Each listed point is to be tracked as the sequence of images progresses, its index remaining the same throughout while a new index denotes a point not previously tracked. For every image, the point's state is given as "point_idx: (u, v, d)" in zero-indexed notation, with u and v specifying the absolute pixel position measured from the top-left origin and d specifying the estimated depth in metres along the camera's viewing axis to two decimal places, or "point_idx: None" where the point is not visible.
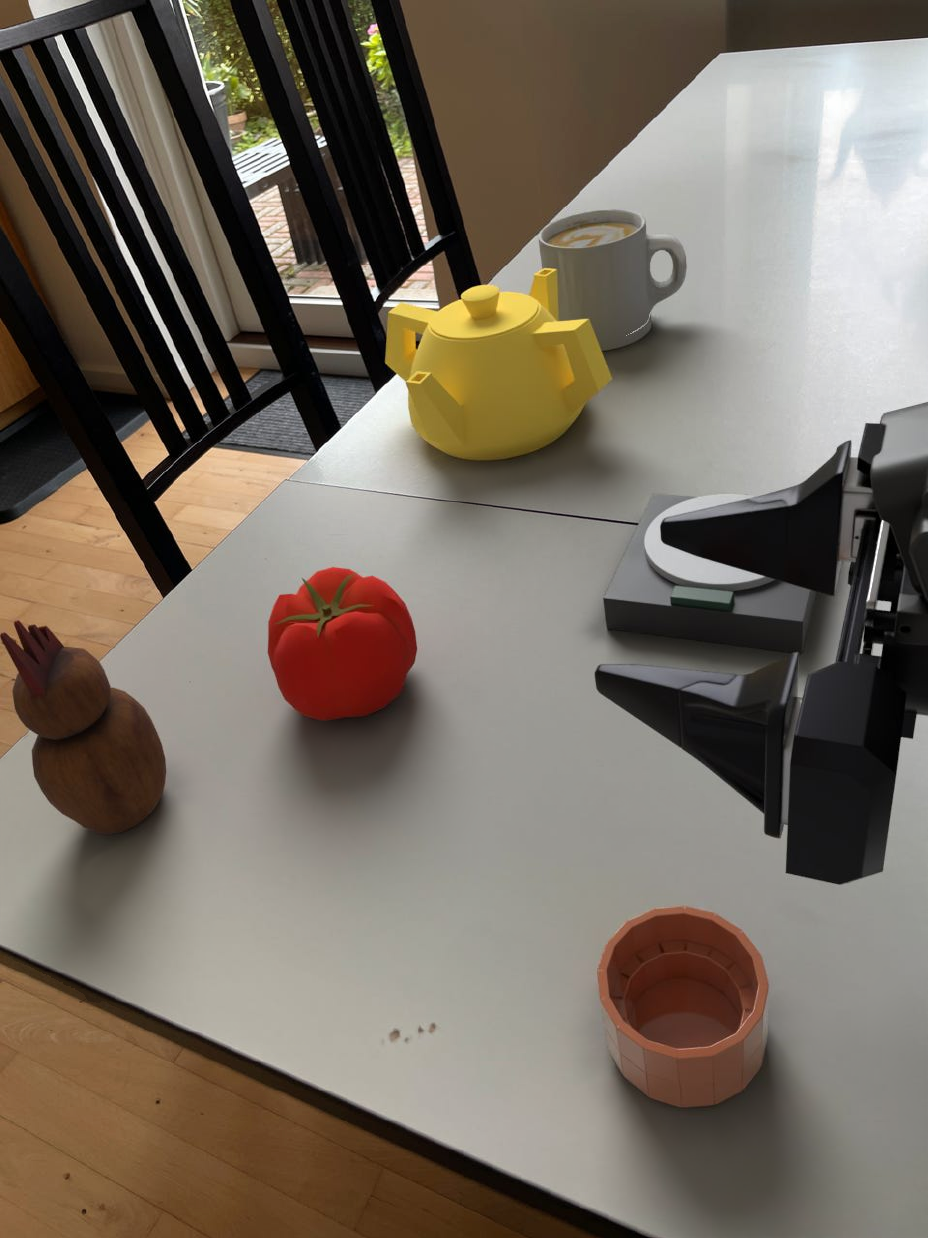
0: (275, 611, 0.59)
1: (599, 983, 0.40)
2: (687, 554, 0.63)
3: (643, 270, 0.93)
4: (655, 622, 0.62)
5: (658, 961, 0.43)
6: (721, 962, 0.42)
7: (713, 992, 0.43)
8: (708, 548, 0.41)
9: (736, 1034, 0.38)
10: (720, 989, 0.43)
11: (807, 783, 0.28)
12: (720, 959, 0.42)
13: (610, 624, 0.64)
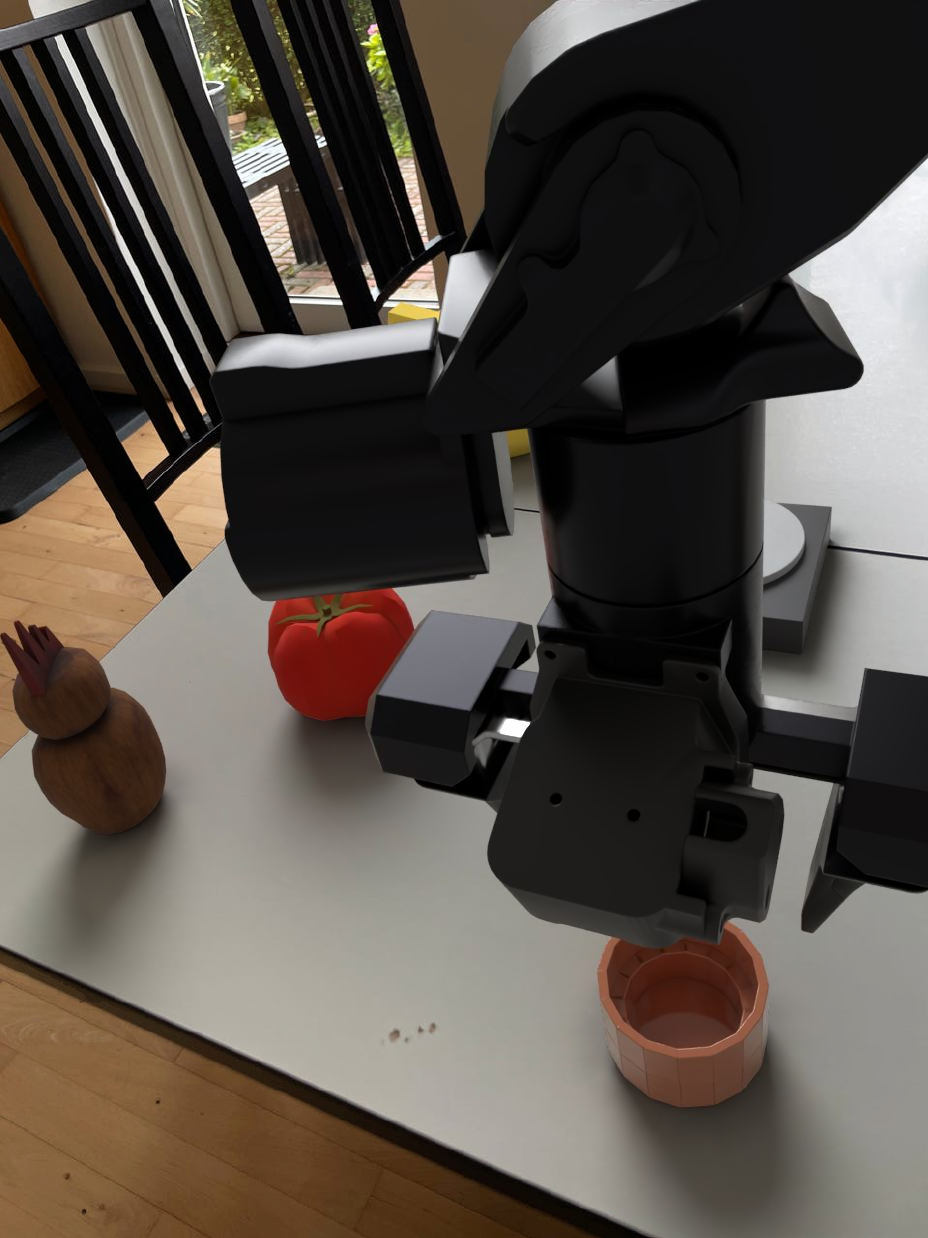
0: (275, 611, 0.59)
1: (599, 983, 0.40)
2: None
3: None
4: None
5: (658, 961, 0.43)
6: (721, 962, 0.42)
7: (713, 992, 0.43)
8: None
9: (736, 1034, 0.38)
10: (720, 989, 0.43)
11: None
12: (720, 959, 0.42)
13: None
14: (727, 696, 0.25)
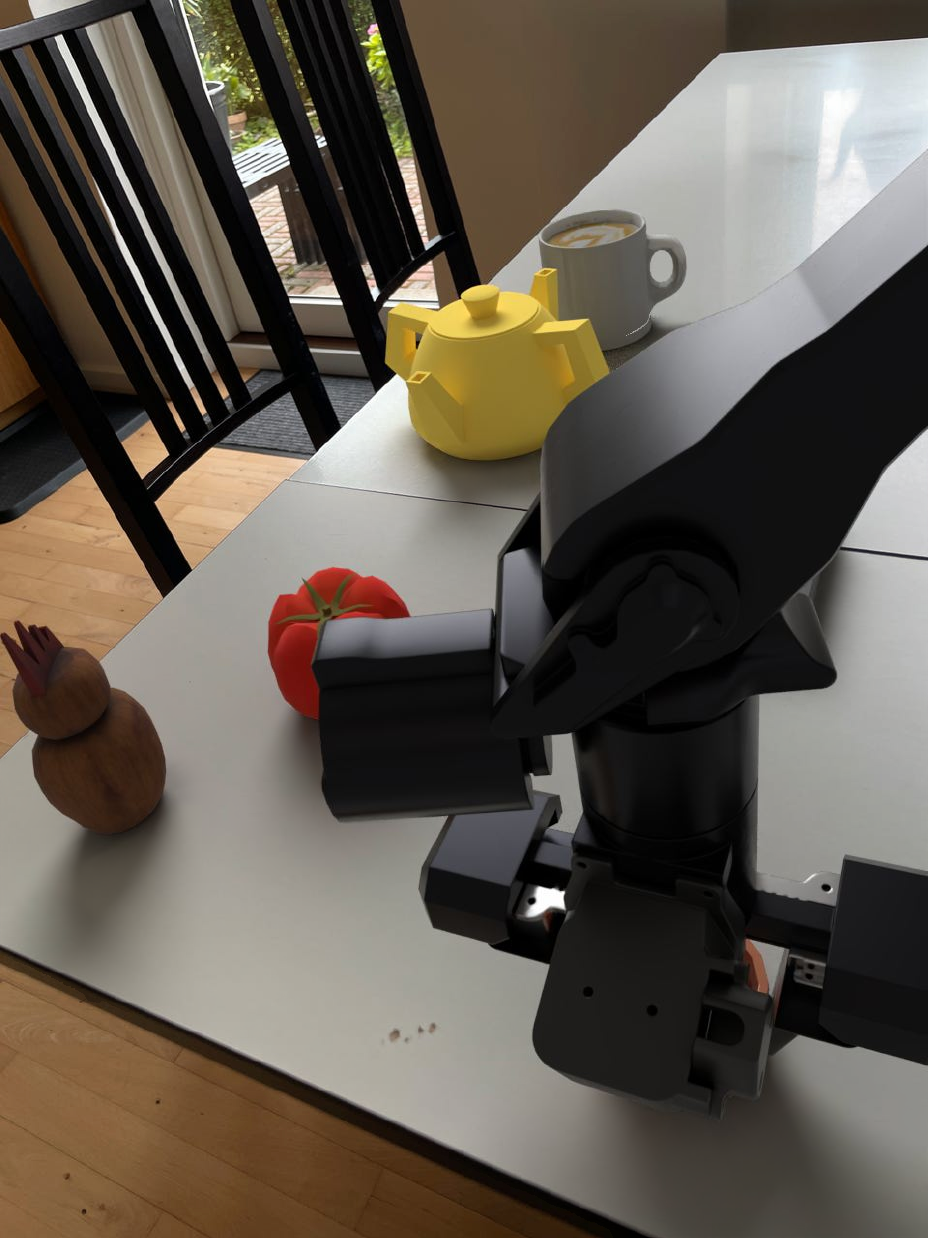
0: (275, 611, 0.59)
1: None
2: None
3: (643, 270, 0.93)
4: None
5: None
6: None
7: None
8: None
9: None
10: None
11: None
12: None
13: None
14: (728, 906, 0.31)
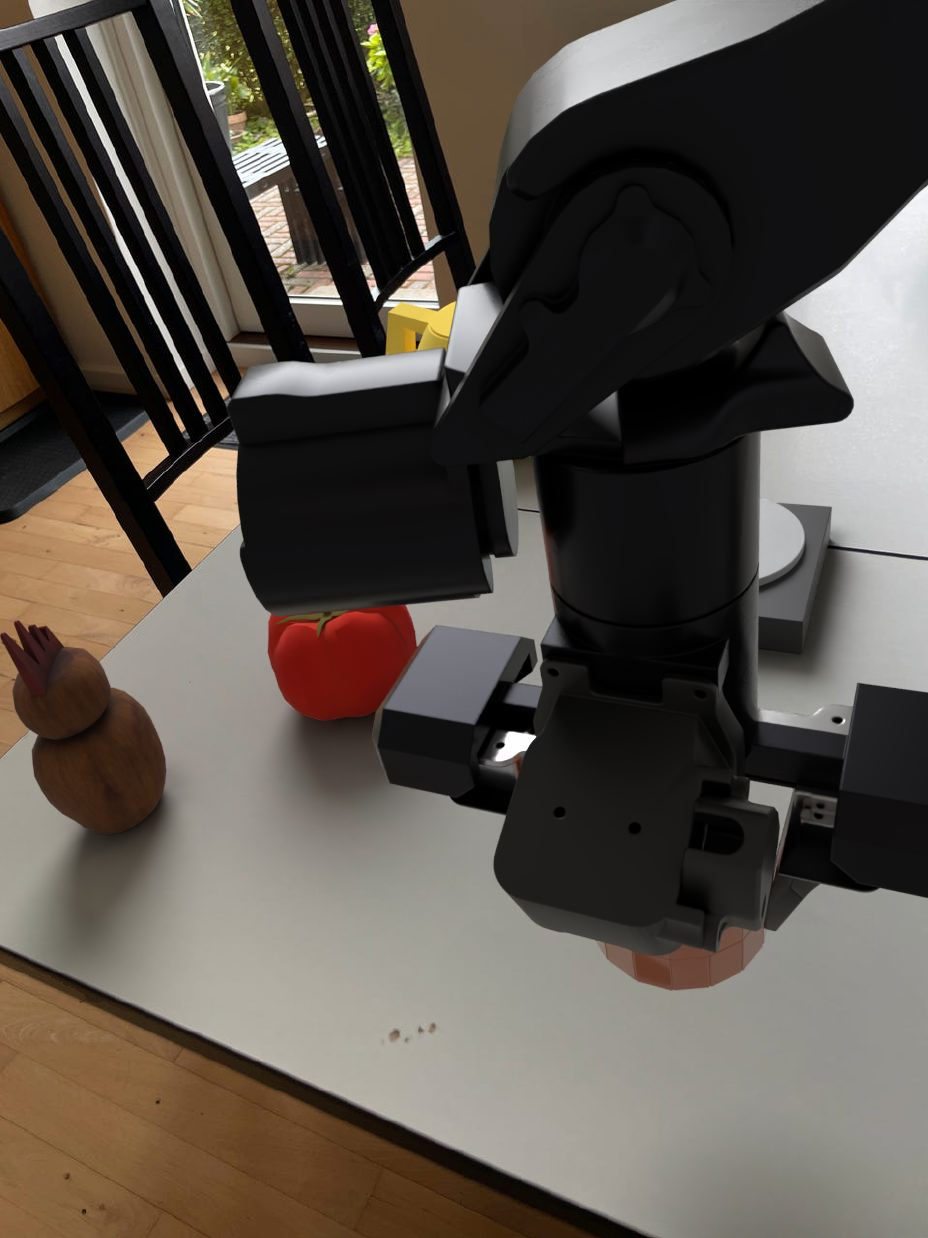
0: None
1: None
2: None
3: None
4: None
5: None
6: None
7: None
8: None
9: None
10: None
11: None
12: None
13: None
14: (724, 713, 0.26)
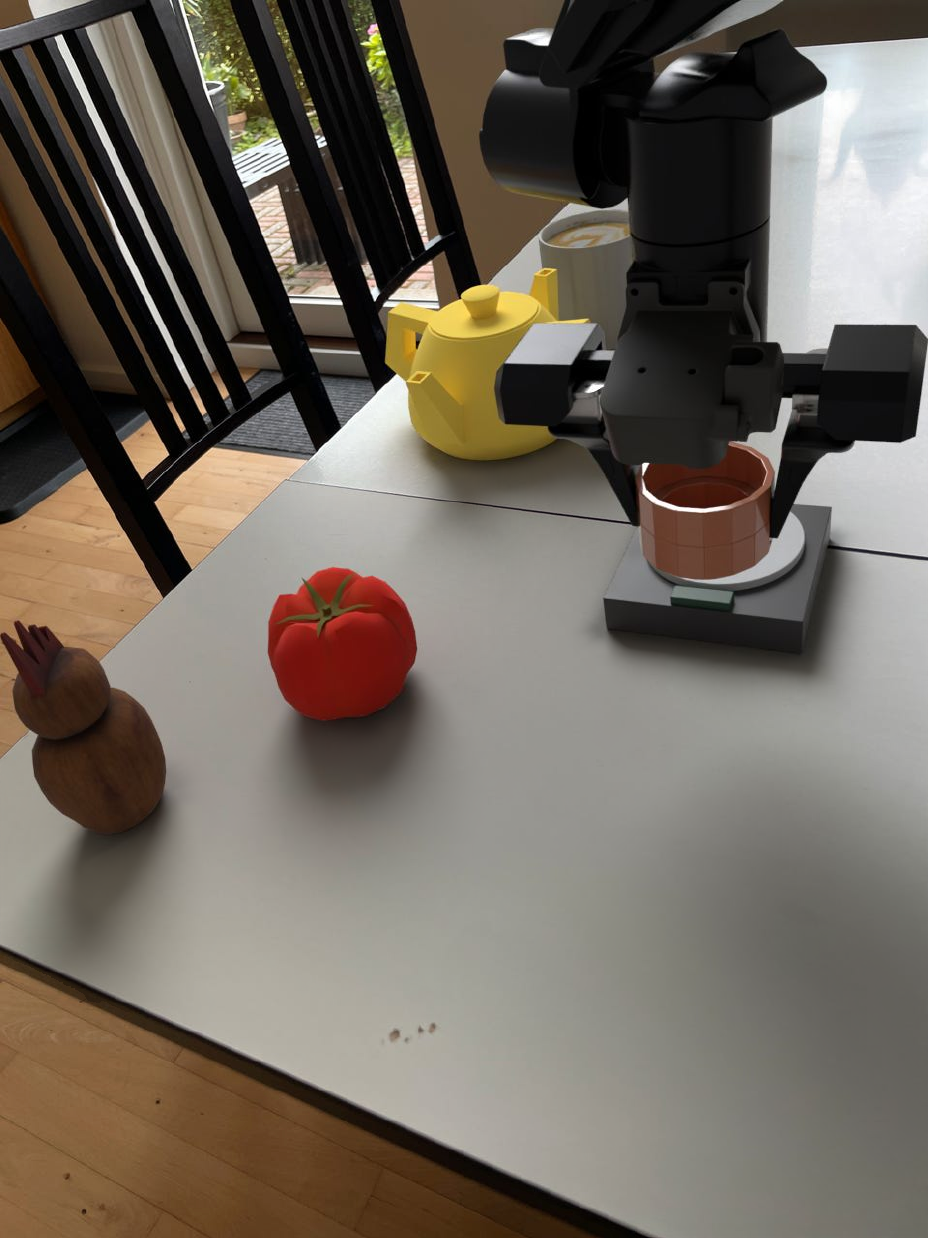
0: (275, 611, 0.59)
1: (637, 483, 0.50)
2: None
3: None
4: (655, 622, 0.62)
5: (682, 492, 0.52)
6: (734, 484, 0.52)
7: None
8: None
9: (750, 496, 0.47)
10: None
11: None
12: (734, 483, 0.52)
13: (610, 624, 0.64)
14: (748, 309, 0.40)
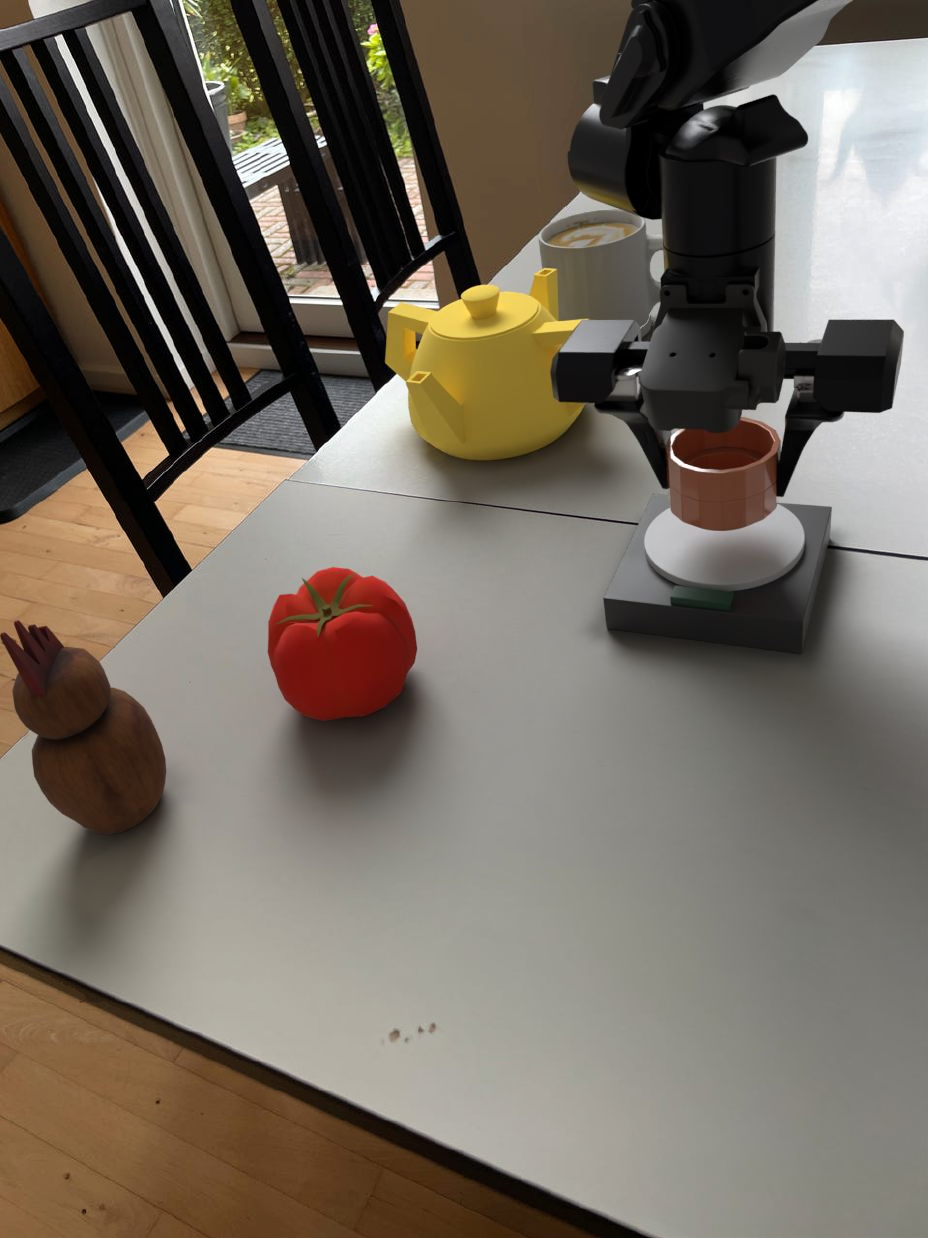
0: (275, 611, 0.59)
1: (667, 451, 0.60)
2: (687, 554, 0.63)
3: (643, 270, 0.93)
4: (655, 622, 0.62)
5: (704, 460, 0.63)
6: (748, 453, 0.62)
7: None
8: None
9: (759, 460, 0.58)
10: None
11: (894, 393, 0.52)
12: (747, 452, 0.62)
13: (610, 624, 0.64)
14: (757, 307, 0.51)
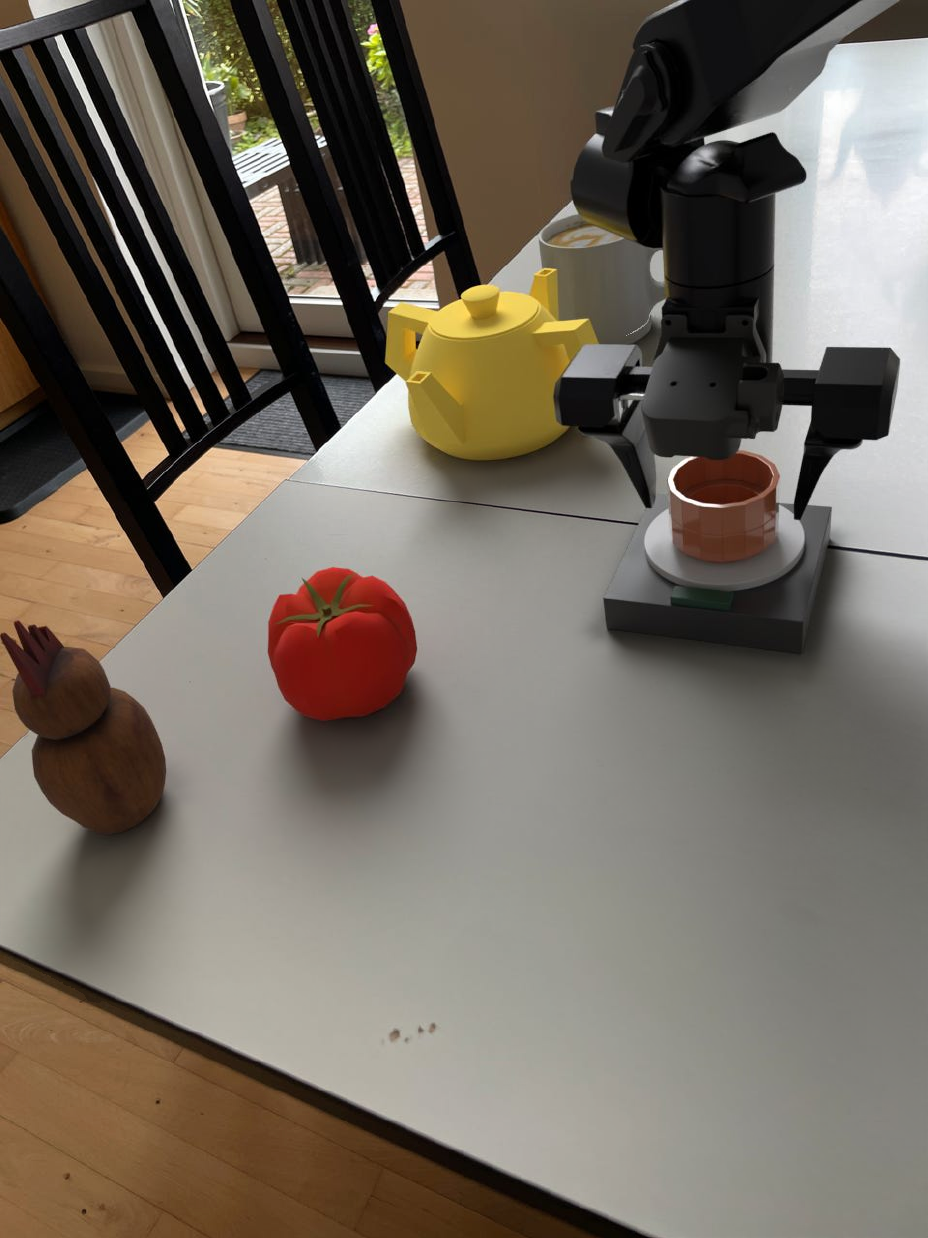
0: (275, 611, 0.59)
1: (669, 484, 0.62)
2: None
3: (643, 270, 0.93)
4: (655, 622, 0.62)
5: (705, 492, 0.65)
6: (747, 485, 0.64)
7: None
8: (653, 474, 0.64)
9: (759, 495, 0.59)
10: None
11: (890, 420, 0.53)
12: (747, 484, 0.64)
13: (610, 624, 0.64)
14: (756, 336, 0.52)
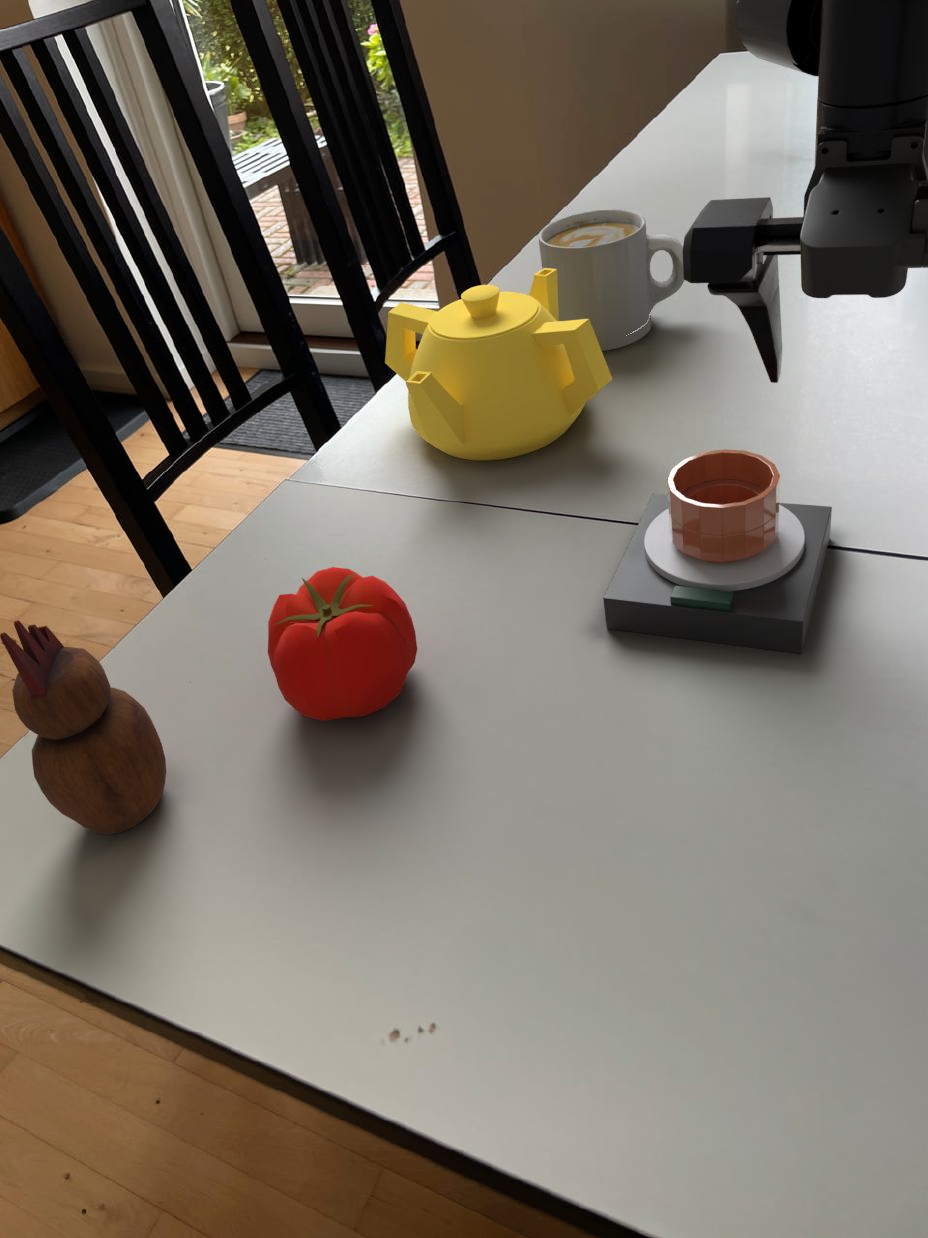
0: (275, 611, 0.59)
1: (669, 484, 0.62)
2: None
3: (643, 270, 0.93)
4: (655, 622, 0.62)
5: (705, 492, 0.65)
6: (747, 485, 0.64)
7: None
8: (780, 344, 0.60)
9: (759, 495, 0.59)
10: None
11: None
12: (747, 484, 0.64)
13: (610, 624, 0.64)
14: (924, 162, 0.48)
